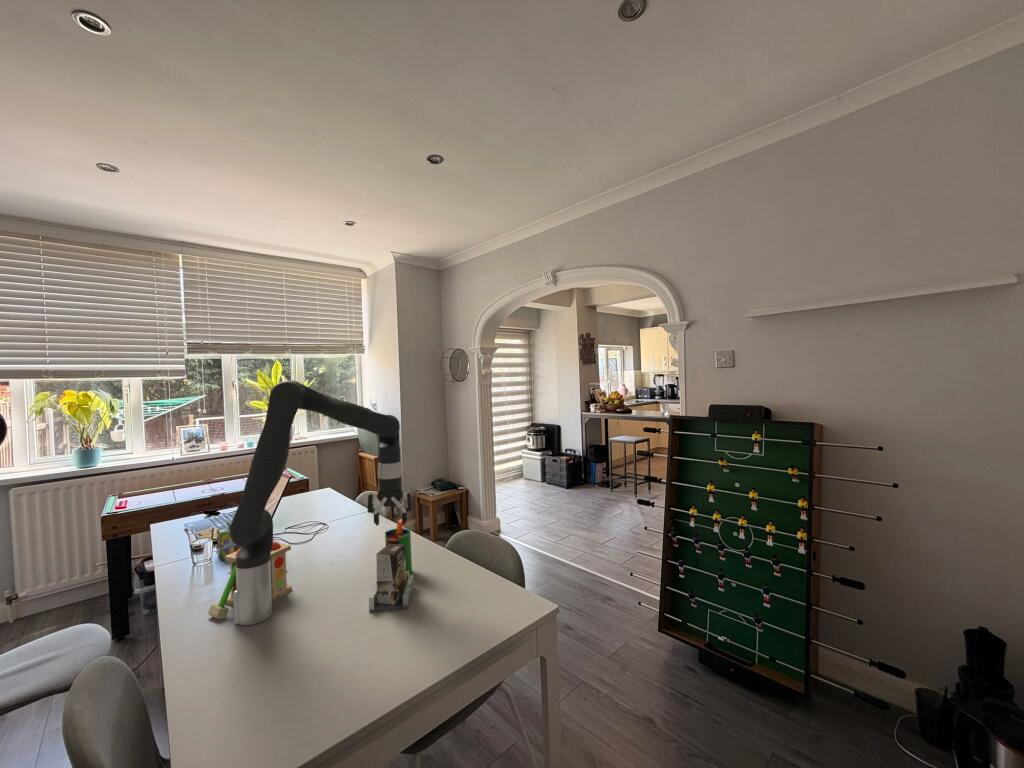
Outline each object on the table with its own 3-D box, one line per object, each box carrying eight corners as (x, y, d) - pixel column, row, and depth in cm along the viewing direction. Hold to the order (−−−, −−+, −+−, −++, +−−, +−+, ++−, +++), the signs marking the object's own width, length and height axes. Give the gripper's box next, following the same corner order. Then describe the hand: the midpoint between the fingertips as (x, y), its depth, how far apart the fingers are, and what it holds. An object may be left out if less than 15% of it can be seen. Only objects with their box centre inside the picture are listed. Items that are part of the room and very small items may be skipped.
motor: (380, 576, 157) (379, 522, 157) (397, 566, 165) (396, 515, 165) (401, 581, 152) (399, 526, 152) (417, 571, 160) (416, 519, 160)
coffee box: (395, 605, 134) (393, 554, 134) (376, 603, 136) (375, 553, 135) (407, 590, 143) (406, 543, 143) (389, 589, 145) (388, 542, 144)
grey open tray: (369, 612, 132) (368, 593, 132) (378, 590, 146) (378, 573, 146) (407, 609, 133) (407, 590, 133) (413, 587, 147) (413, 570, 147)
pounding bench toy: (229, 625, 127) (227, 566, 127) (197, 617, 132) (196, 560, 132) (293, 589, 148) (291, 539, 148) (263, 583, 153) (262, 534, 153)
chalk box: (246, 555, 180) (245, 520, 180) (221, 561, 174) (220, 526, 174) (241, 549, 187) (241, 515, 187) (217, 555, 180) (216, 521, 180)
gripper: (364, 479, 135) (366, 529, 135) (410, 477, 137) (411, 526, 137) (370, 473, 143) (371, 521, 143) (413, 472, 144) (414, 519, 144)
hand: (390, 524), depth 140 cm, fingers open, 8 cm apart
